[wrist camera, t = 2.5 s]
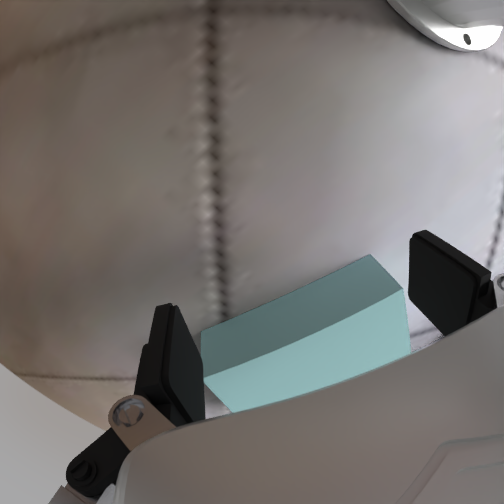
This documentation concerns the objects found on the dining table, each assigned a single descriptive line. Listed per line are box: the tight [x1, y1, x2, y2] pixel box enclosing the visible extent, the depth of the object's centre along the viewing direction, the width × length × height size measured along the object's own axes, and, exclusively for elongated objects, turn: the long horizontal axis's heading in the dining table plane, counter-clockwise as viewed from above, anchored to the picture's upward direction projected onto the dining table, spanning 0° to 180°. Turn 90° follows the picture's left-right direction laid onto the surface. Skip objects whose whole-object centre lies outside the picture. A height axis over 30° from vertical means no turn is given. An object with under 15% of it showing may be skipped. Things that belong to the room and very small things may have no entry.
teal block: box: [201, 254, 411, 413], centre depth 19 cm, size 8×12×4 cm, turn 115°
